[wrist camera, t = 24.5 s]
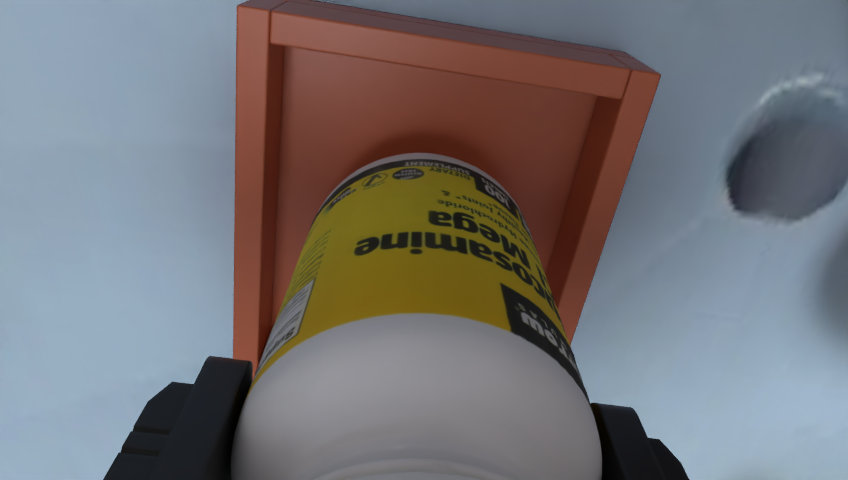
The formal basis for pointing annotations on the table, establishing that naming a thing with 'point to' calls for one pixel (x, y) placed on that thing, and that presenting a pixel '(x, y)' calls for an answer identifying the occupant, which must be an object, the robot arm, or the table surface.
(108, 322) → the table surface
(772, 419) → the table surface
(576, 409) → the pill bottle
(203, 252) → the table surface
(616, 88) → the terracotta tray
